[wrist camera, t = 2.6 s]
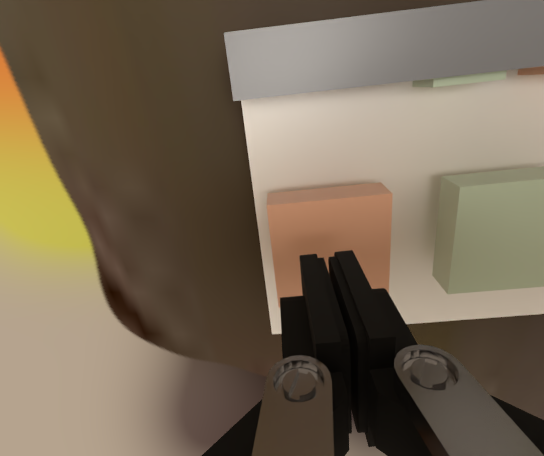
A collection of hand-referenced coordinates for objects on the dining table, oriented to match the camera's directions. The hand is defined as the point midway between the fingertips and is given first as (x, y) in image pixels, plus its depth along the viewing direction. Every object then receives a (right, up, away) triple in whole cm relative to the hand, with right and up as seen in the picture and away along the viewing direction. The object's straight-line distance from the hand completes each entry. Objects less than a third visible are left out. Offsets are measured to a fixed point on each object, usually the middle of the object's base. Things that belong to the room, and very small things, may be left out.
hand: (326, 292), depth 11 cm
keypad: (+8, +4, +7) cm, 11 cm away
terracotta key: (+1, +2, +4) cm, 4 cm away
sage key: (+8, +2, +3) cm, 9 cm away
